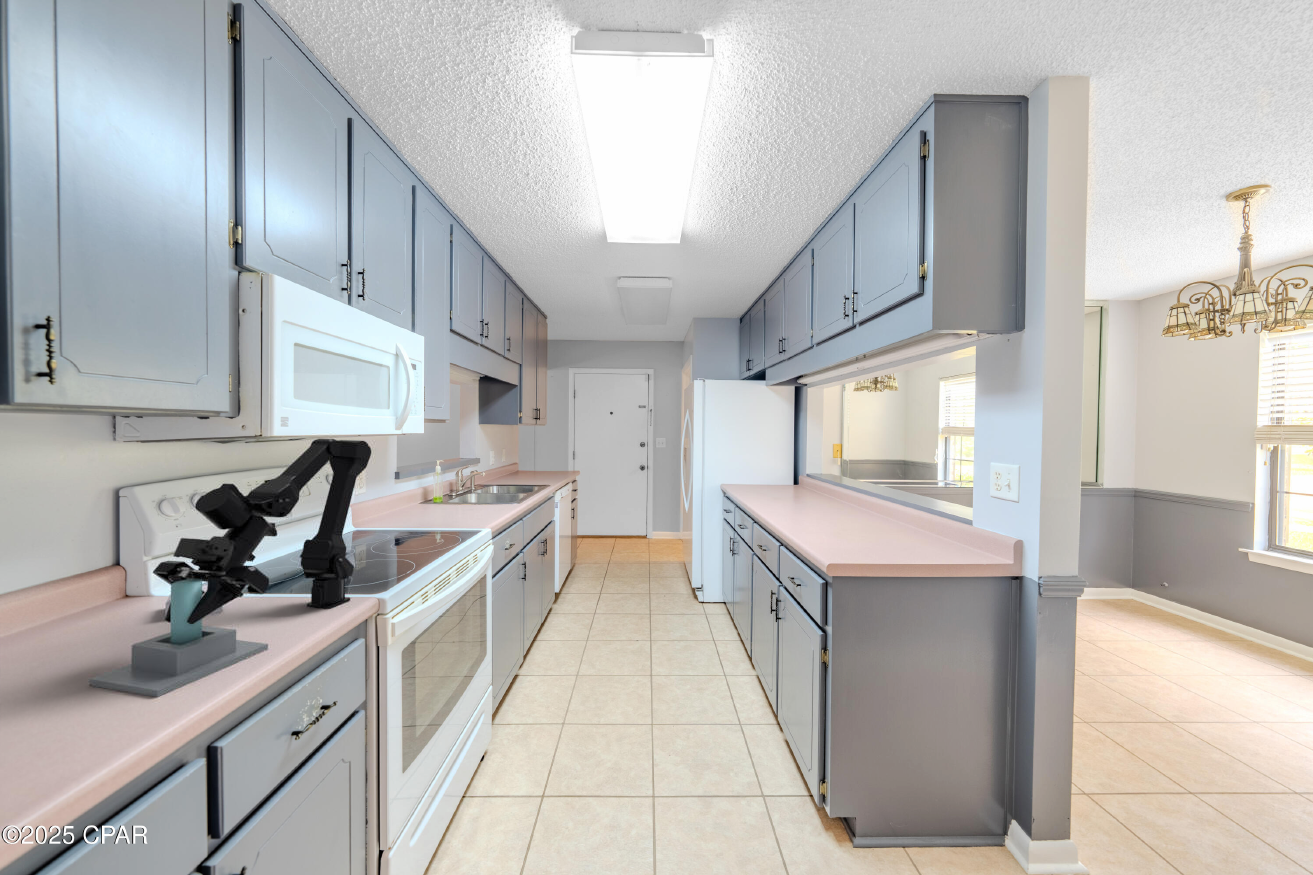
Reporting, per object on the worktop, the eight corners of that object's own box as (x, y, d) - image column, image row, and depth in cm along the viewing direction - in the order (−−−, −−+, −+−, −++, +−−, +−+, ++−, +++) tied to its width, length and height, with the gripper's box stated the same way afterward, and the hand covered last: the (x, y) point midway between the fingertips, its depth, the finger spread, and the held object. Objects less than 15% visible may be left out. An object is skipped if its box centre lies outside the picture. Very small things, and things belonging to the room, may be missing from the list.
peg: (177, 653, 91) (178, 580, 91) (205, 651, 93) (206, 578, 93) (165, 663, 88) (165, 586, 87) (194, 660, 89) (195, 584, 89)
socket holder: (208, 641, 101) (208, 615, 100) (267, 649, 98) (268, 622, 97) (89, 685, 83) (89, 653, 83) (157, 696, 80) (157, 664, 80)
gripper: (164, 516, 95) (91, 596, 84) (256, 521, 93) (192, 603, 82) (206, 549, 103) (144, 626, 92) (292, 554, 101) (238, 634, 90)
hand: (178, 622), depth 89 cm, fingers closed on peg, 4 cm apart
